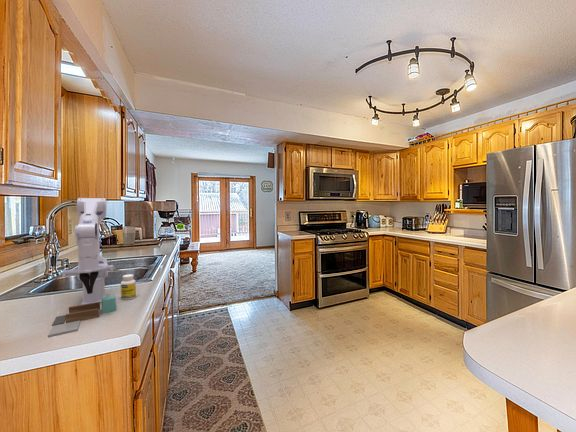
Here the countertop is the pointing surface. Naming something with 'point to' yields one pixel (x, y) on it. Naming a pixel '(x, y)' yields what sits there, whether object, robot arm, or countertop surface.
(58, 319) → the mat
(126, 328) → the countertop surface
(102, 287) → the robot arm
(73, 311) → the channel
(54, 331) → the tile
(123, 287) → the supplement bottle
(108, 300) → the block
